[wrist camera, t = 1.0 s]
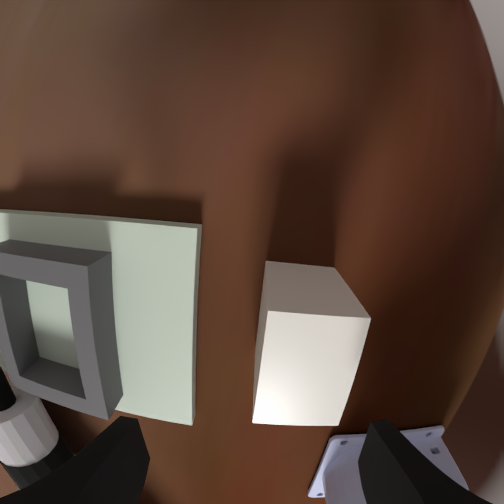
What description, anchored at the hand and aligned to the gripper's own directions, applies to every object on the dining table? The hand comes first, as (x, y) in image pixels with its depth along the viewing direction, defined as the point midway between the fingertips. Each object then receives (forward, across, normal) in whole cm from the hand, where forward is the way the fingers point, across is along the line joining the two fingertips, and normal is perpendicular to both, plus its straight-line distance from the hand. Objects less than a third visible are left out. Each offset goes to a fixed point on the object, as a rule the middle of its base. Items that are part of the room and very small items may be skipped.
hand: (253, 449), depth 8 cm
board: (+8, +11, 0) cm, 14 cm away
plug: (+9, -2, -1) cm, 9 cm away
